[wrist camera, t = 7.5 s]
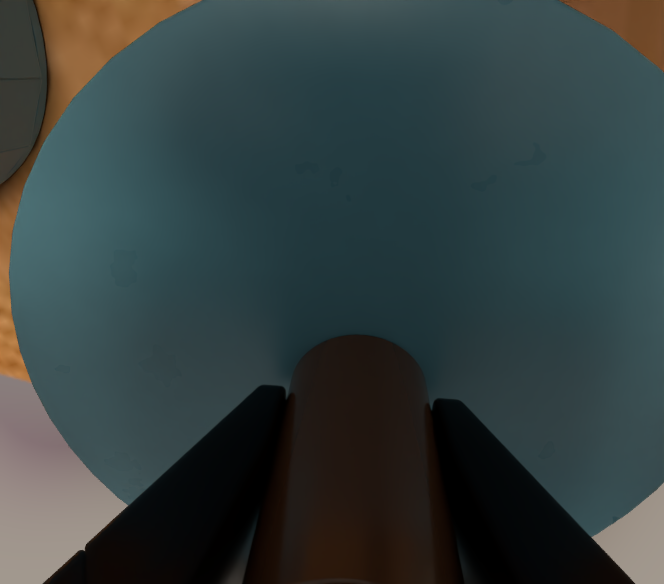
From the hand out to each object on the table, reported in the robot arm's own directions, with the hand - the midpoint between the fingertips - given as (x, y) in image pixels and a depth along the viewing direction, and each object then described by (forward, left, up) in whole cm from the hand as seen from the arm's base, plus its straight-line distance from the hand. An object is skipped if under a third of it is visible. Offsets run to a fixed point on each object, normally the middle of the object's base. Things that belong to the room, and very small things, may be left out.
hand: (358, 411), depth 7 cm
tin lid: (0, 0, -1) cm, 1 cm away
